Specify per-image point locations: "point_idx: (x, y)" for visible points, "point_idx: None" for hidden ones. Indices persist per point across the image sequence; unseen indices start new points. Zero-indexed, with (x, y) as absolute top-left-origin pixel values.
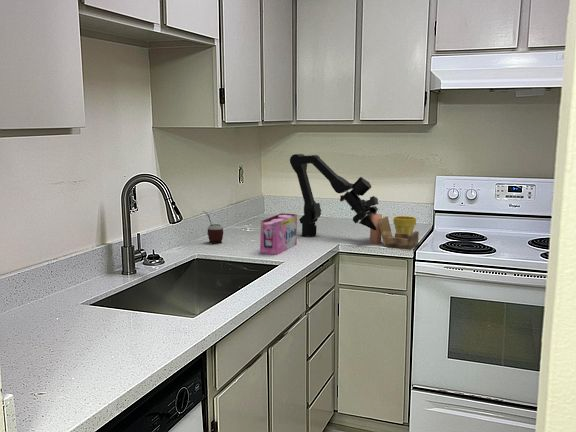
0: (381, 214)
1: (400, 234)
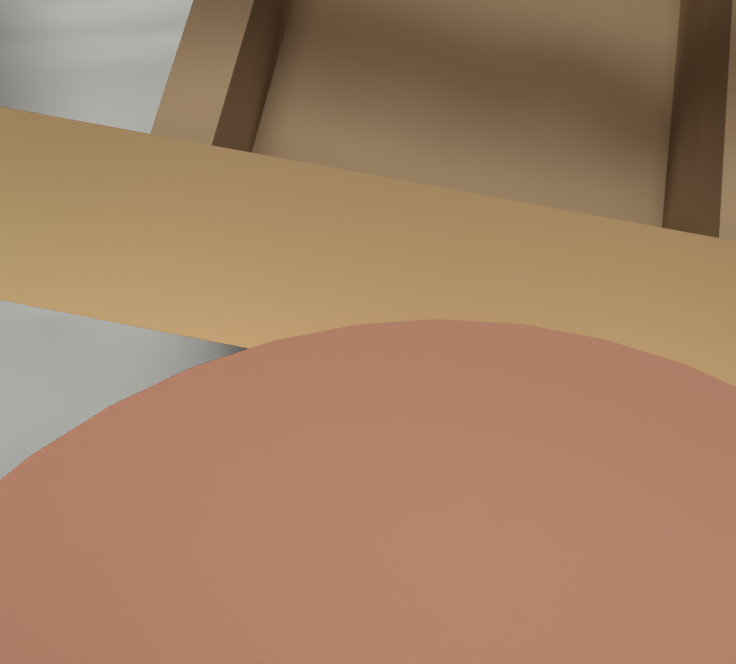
0: (257, 406)
1: (242, 57)
